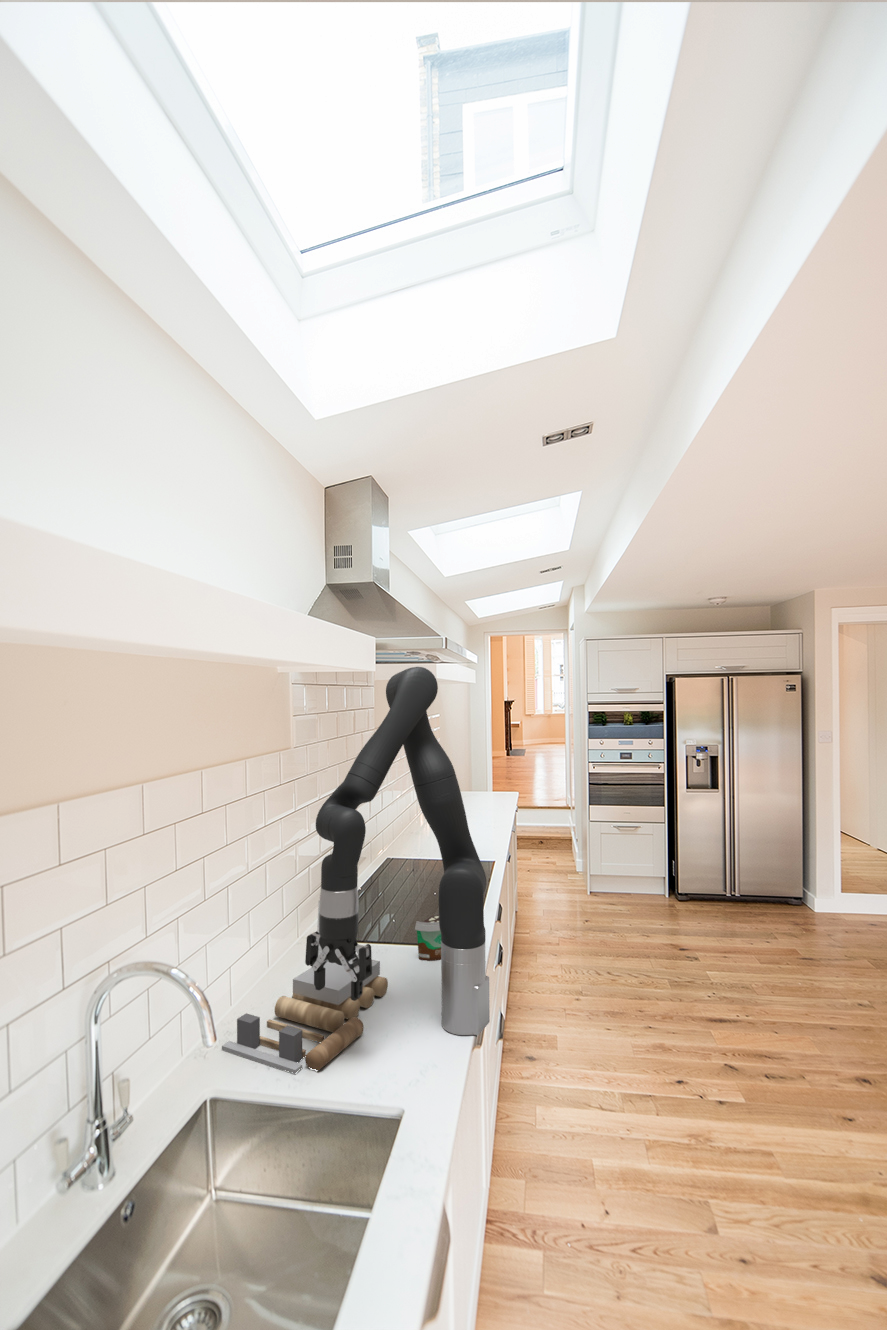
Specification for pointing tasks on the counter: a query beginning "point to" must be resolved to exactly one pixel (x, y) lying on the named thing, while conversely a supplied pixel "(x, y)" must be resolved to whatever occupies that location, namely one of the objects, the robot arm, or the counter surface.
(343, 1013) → the roller bed
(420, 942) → the food container
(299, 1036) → the bumper posts
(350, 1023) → the roller
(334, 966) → the slab
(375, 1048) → the counter surface
